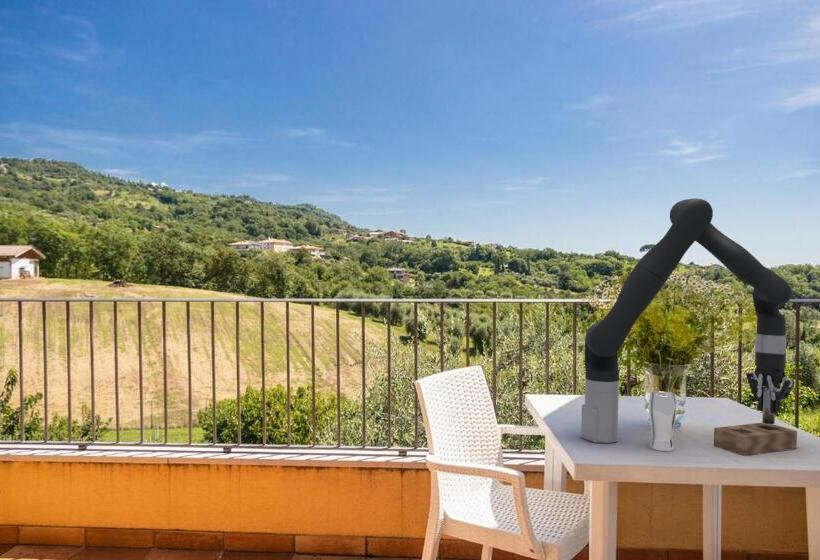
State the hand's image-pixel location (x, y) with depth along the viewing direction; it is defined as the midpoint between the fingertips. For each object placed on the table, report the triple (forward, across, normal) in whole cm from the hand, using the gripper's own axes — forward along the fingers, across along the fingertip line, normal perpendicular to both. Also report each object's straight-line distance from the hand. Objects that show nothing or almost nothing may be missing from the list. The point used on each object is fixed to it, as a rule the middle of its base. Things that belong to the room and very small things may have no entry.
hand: (768, 411), depth 177 cm
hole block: (+10, 0, -5) cm, 11 cm away
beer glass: (+10, -8, -31) cm, 34 cm away
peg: (+3, 0, 0) cm, 3 cm away
